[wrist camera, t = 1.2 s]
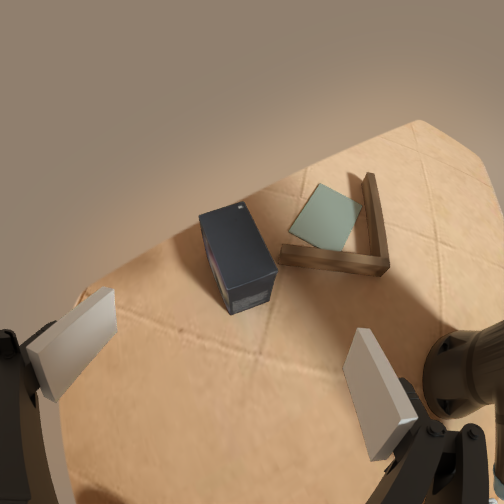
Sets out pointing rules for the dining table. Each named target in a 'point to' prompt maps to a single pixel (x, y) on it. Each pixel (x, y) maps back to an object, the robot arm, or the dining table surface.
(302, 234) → the pad
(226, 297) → the small box
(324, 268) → the walnut corner fence
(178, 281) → the dining table surface
